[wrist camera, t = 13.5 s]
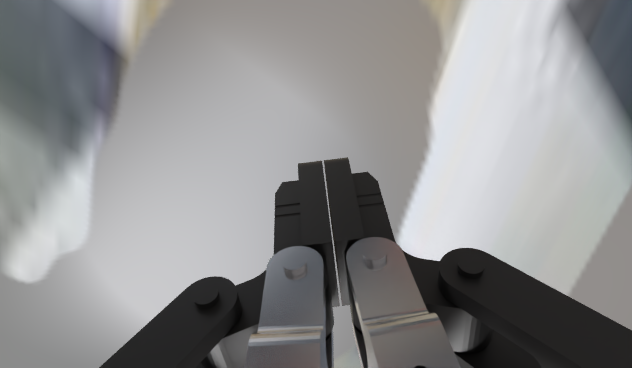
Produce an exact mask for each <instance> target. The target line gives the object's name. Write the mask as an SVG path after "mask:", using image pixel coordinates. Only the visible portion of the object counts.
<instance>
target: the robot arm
mask: <svg viewBox="0 0 632 368" xmlns="http://www.w3.org/2000/svg"><path fill="white" fill-rule="evenodd" d="M324 164H325V174H326V181H327V191H328V199H329V208H330V217H331V224H332V232H333V240H334V246H335V254H336V262H337V270H338V277H339V285H340V293H341V300H342V306H344V305H350V309H351V316H352V325H353V333H354V337H355V342H356V346H357V350H358V354H359V358H360V362H361V367H362V368H632V330H630V329H628V328H626V327H624V326H622V325H620V324H618V323H617V322H615V321H613V320H611V319H609V318H607V317H605V316H603V315H602V314H600V313H598V312H596V311H594V310H592V309H591V308H589V307H587V306H585V305H583V304H581V303H579V302H578V301H576V300H574V299H572V298H570V297H568V296H566V295H564V294H563V293H561V292H559V291H557V290H555V289H553V288H551V287H550V286H548V285H546V284H544V283H542V282H540V281H538V280H537V279H535V278H533V277H531V276H529V275H527V274H525V273H523V272H522V271H520V270H518V269H516V268H514V267H512V266H510V265H509V264H507V263H505V262H503V261H501V260H499V259H497V258H495V257H494V256H492V255H490V254H488V253H486V252H484V251H481V250H478V249H473V248H460V249H455V250H452V251H450V252H448V253H447V254H445V255H444V256H443V257H442V259H441V261H433V260H426V259H420V258H417V257H413V256H411V255H409V254H407V253H406V252H404V251H403V250H402V249H401V248H400V247H399V245H397V244H396V242H395V239H394V236H393V233H392V229H391V226H390V222H389V219H388V215H387V212H386V208H385V205H384V201H383V198H382V195H381V192H380V188H379V184H378V181H377V180H376V179H375V178H374V177H373V176H371V175H370V174H369V173H368V172H363V173H355V174H352V173H351V169H350V164H349V160H348V158H340V159H332V160H324ZM298 175H299V180H297V181H289V182H282V184H281V186H280V187H279V189H278V190H277V192H276V193H275V226H274V227H275V228H274V256H273V257H272V258H271V259H270V260H269V263H268V265H267V269H266V270H265V271H264V272H263V273H262V274H261V275H259V276H257V277H256V278H254V279H251V280H249V281H246V282H244V283H241V284H239V285H236V286H235V285H234V284H233V283H232V282H231V281H230V280H228V279H226V278H223V277H208V278H204V279H201V280H198V281H196V282H195V283H193V284H191V285H190V286H189V287H188V288H186V289H185V290H184V291H183V292H182V293H181V294H180V295H179V296H178V297H177V298H175V299H174V300H173V301H172V302H171V303H170V304H169V305H168V306H167V307H165V308H164V309H163V310H162V311H161V312H160V313H159V314H158V315H157V316H156V317H154V318H153V319H152V320H151V321H150V322H149V323H148V324H147V325H146V326H145V327H143V328H142V329H141V330H140V331H139V332H138V333H137V334H136V335H135V336H134V337H132V338H131V339H130V340H129V341H128V342H127V343H126V344H125V345H124V346H123V347H122V348H120V349H119V350H118V351H117V352H116V353H115V354H114V355H113V356H112V357H111V358H109V359H108V360H107V361H106V362H105V363H104V364H103V365H102V366H101V367H99V368H334V359H333V331H332V329H333V325H334V317H333V309H332V307H337V306H339V297H338V288H337V279H336V271H335V262H334V253H333V244H332V236H331V228H330V221H329V213H328V205H327V197H326V189H325V182H324V173H323V165H322V161H316V162H309V163H299V164H298Z"/></svg>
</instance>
